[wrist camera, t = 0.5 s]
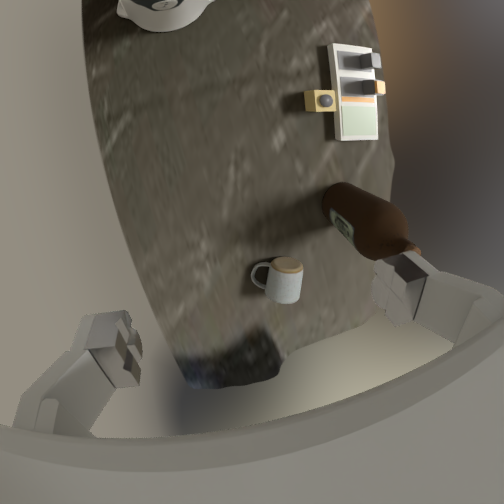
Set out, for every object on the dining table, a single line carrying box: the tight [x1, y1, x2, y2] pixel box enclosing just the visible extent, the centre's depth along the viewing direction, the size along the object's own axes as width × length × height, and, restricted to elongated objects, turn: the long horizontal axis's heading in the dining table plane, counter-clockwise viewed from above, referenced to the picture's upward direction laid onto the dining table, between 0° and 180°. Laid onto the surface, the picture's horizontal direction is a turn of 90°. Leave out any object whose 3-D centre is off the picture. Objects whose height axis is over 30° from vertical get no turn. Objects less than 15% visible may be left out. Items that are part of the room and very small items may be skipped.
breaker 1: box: [360, 53, 381, 70], centre depth 40 cm, size 3×2×4 cm, turn 6°
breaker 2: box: [362, 79, 385, 95], centre depth 43 cm, size 3×2×5 cm, turn 6°
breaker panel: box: [327, 43, 378, 141], centre depth 47 cm, size 20×9×3 cm, turn 6°
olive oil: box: [322, 182, 421, 261], centre depth 48 cm, size 11×11×25 cm
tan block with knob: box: [304, 90, 336, 112], centre depth 45 cm, size 4×4×6 cm
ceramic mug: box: [251, 257, 303, 304], centre depth 60 cm, size 11×8×8 cm
